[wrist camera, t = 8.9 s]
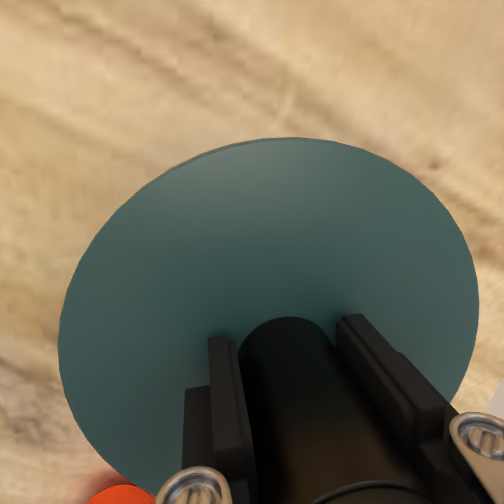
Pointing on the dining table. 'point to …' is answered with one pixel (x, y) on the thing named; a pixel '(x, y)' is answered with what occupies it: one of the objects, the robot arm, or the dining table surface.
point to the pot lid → (267, 313)
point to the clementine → (122, 496)
